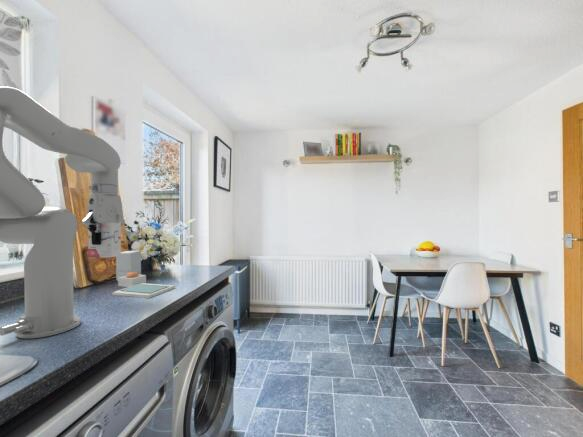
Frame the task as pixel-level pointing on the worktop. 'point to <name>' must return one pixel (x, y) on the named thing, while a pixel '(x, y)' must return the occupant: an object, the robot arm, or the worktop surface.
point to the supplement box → (128, 263)
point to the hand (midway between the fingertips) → (104, 243)
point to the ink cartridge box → (106, 241)
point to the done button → (132, 274)
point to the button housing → (131, 281)
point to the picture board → (144, 290)
